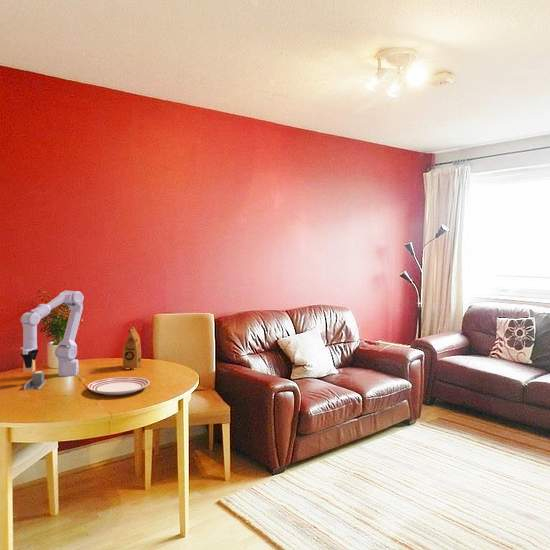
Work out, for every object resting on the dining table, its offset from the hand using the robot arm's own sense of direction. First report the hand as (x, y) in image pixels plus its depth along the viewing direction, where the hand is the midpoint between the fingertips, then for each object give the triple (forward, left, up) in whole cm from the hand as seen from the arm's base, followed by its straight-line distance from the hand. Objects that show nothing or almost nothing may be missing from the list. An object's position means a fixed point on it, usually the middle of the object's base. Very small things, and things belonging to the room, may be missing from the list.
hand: (30, 366), depth 222 cm
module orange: (0, 0, -2) cm, 2 cm away
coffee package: (-44, -32, -10) cm, 55 cm away
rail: (-3, +4, -10) cm, 11 cm away
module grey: (-3, -1, -8) cm, 9 cm away
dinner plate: (-42, +11, -10) cm, 44 cm away
